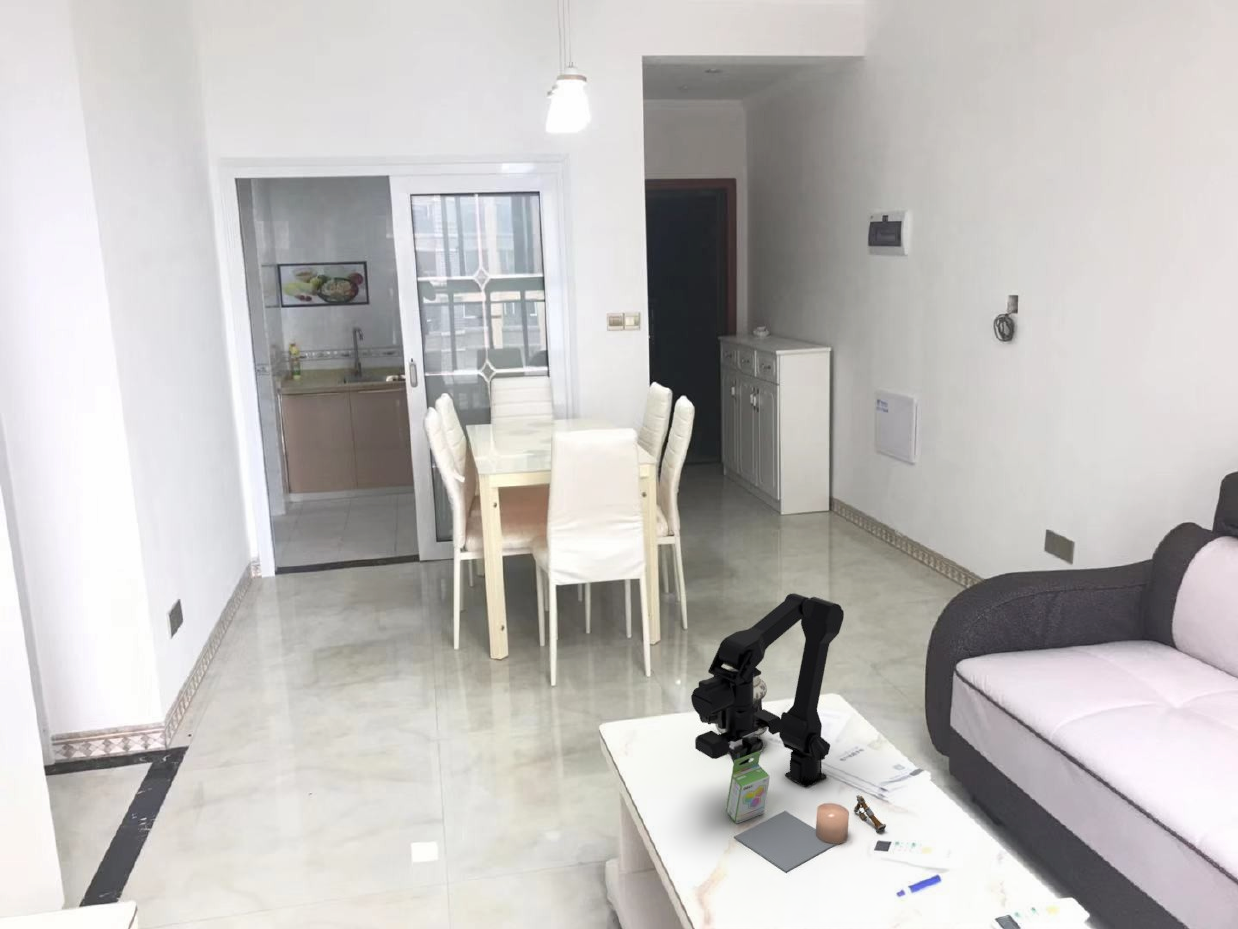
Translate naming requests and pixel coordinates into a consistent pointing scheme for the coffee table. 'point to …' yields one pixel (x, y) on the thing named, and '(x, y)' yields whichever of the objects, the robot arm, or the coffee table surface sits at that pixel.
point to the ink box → (747, 789)
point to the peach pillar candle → (832, 823)
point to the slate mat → (784, 841)
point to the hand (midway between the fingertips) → (739, 772)
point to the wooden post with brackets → (868, 814)
